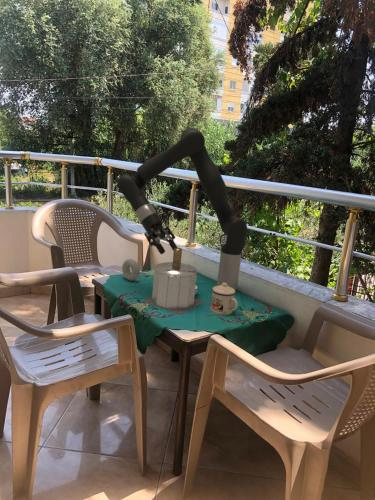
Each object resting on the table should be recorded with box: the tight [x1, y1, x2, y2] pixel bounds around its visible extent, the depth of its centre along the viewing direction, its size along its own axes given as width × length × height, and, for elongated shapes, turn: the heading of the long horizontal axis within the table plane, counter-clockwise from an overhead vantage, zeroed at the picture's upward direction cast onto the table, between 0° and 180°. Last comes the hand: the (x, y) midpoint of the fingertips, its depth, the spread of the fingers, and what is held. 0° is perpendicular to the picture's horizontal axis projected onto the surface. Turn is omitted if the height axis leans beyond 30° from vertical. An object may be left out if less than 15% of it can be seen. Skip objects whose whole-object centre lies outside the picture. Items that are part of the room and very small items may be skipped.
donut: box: [121, 258, 140, 282], centre depth 184 cm, size 10×4×10 cm, turn 48°
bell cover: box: [151, 247, 198, 310], centre depth 161 cm, size 17×17×22 cm
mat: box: [140, 295, 205, 315], centre depth 164 cm, size 18×19×1 cm
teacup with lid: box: [210, 283, 239, 316], centre depth 158 cm, size 12×9×12 cm
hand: (169, 251), depth 161 cm, fingers open, 8 cm apart
